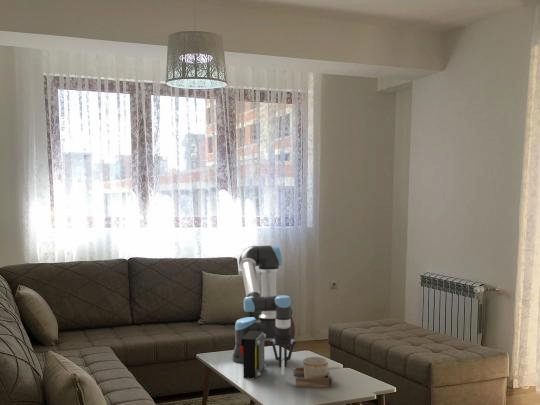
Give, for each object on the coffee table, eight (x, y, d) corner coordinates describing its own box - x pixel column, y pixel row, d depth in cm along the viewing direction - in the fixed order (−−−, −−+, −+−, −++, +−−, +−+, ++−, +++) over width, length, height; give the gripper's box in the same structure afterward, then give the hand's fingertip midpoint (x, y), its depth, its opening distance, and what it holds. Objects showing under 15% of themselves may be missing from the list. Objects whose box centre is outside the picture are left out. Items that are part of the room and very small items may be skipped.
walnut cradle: (293, 375, 282) (293, 367, 282) (326, 374, 283) (326, 367, 283) (295, 387, 264) (295, 379, 264) (331, 387, 264) (331, 378, 264)
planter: (301, 377, 279) (301, 356, 279) (325, 376, 280) (325, 356, 280) (305, 385, 266) (305, 364, 266) (330, 384, 267) (330, 363, 267)
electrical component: (259, 379, 276) (259, 339, 276) (239, 377, 278) (239, 338, 278) (266, 368, 293) (266, 331, 293) (248, 367, 295) (248, 330, 295)
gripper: (270, 328, 268) (269, 376, 269) (296, 328, 268) (296, 376, 269) (269, 325, 276) (269, 371, 276) (295, 325, 276) (295, 370, 276)
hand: (282, 373), depth 273 cm, fingers closed
